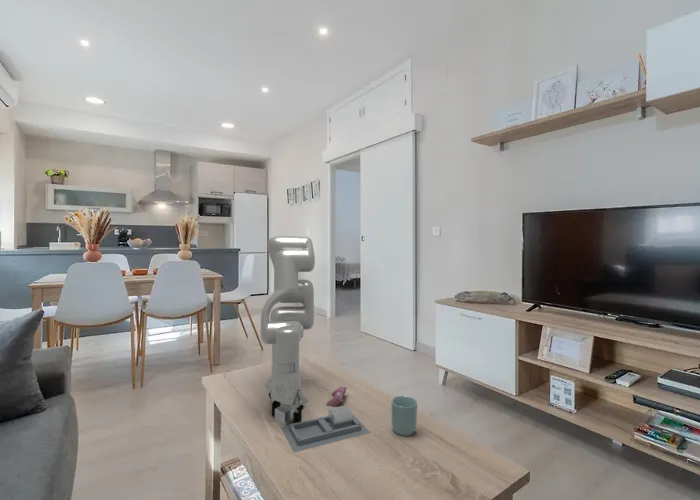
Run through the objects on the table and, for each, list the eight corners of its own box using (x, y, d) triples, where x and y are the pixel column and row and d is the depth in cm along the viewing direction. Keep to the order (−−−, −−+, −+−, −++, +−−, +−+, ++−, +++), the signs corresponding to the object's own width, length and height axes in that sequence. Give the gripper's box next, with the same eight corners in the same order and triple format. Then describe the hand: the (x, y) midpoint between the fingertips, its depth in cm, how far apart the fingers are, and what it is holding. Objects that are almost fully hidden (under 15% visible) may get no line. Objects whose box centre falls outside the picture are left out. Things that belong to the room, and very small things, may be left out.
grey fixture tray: (280, 430, 108) (280, 422, 108) (350, 414, 119) (350, 407, 119) (293, 455, 96) (293, 446, 95) (370, 435, 106) (370, 427, 106)
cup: (418, 429, 110) (419, 398, 110) (414, 442, 103) (415, 409, 103) (393, 424, 113) (394, 394, 112) (388, 437, 105) (389, 404, 105)
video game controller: (335, 414, 122) (345, 397, 121) (324, 407, 123) (333, 390, 122) (341, 401, 132) (350, 385, 131) (331, 394, 132) (339, 379, 131)
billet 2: (328, 424, 110) (328, 409, 110) (345, 420, 113) (345, 405, 112) (334, 432, 106) (334, 415, 106) (351, 427, 109) (352, 411, 108)
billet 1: (274, 424, 112) (274, 408, 112) (287, 416, 117) (288, 401, 117) (284, 428, 109) (285, 413, 109) (297, 420, 114) (298, 405, 114)
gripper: (259, 363, 114) (259, 415, 115) (299, 375, 104) (298, 432, 105) (276, 357, 120) (275, 406, 121) (315, 368, 111) (314, 421, 111)
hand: (286, 418), depth 113 cm, fingers open, 9 cm apart
